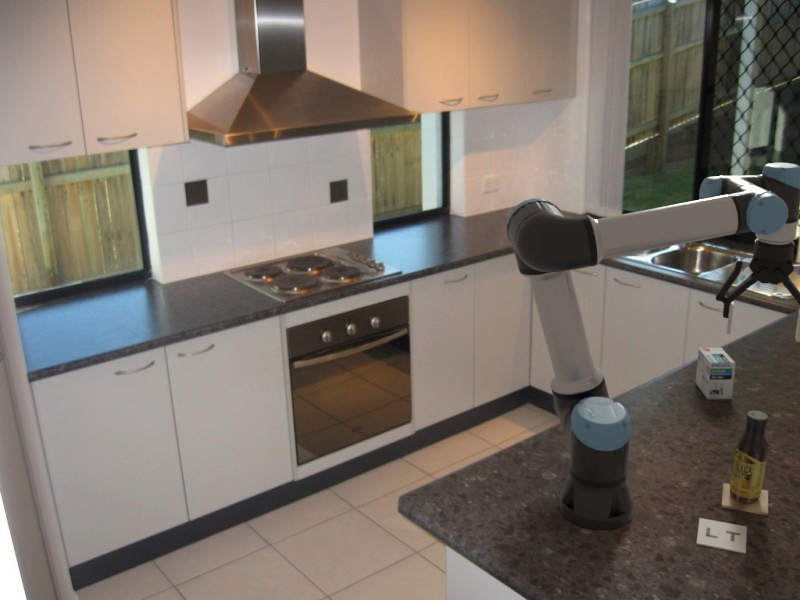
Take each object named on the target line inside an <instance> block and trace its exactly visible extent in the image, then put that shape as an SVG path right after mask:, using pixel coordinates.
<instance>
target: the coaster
mask: <svg viewBox="0 0 800 600" xmlns="http://www.w3.org/2000/svg"><path fill="white" fill-rule="evenodd" d="M721 495H722V496H721V508H724V509H730V510H734V511H741V512H746V513H751V514H757V515H763V516H769V490H768V489H762V490H761V495H760V498H759V499H758V501H757V502H754V503H747V504H746V503H742V502H740V501H737V500H735V499H734V498H732V496H731V495H730V483H726V482H723V484H722V494H721Z"/></svg>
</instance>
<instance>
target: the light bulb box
mask: <svg viewBox="0 0 800 600" xmlns="http://www.w3.org/2000/svg"><path fill="white" fill-rule="evenodd" d="M697 352H698V354H697V362H696V363H697V364H696V375H695V384H696V386H697V387H698V388H699V390H700V391H701V392H702V394H703V395H704V397H705V398H706V399H707V400H732V399H733V391H734V389H733V388H734V380H735V371H736V365H737V364H736V360H734V359H733V358H731V356H730V355H729V354H728V353H727V352H726V350H725V349H724V348H723V347H699V348H698V351H697Z"/></svg>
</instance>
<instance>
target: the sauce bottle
mask: <svg viewBox="0 0 800 600" xmlns="http://www.w3.org/2000/svg"><path fill="white" fill-rule="evenodd" d="M745 419H746V424H745V429H744V432H743V433H742V436H741V437H740V438H739V439H740V440H739V441H738V443H737V445H736V446H735V451H734V458H733V463H732V469H731V474H730V475H731V476H730V481H729V484H730V495H731V496H732V498H734V499H735V500H737V501H740V502H742V503H746V504H747V503H754V502H757V501H758V499H759V498H760V495H761V490H763V489H762V488H763V483H764V478H765V474H766V473H765V471H766V466H767V461H768V452H769V444H768V441H767V439H766V436H765V435H766V429H767V428H766V427H767V424H768V422H769V415H768V414H767V413H765V412H763V411H760V410H749V411H748V412H747V414H746V418H745Z"/></svg>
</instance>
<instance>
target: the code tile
mask: <svg viewBox="0 0 800 600" xmlns="http://www.w3.org/2000/svg"><path fill="white" fill-rule="evenodd" d="M747 528H748V527H747V526H745V525H740V524H734V523H729V522H726V521H725V522H724V521H719V520H713V519H707V518H702V517H699V521H698V528H697V535H696V537H697V538H696V545H698V546H703V547H704V546H705V547H708V548H709V547H710V548H714V549H719V550H725V551H729V552H733V553H740V554H744V555H745V554H747Z"/></svg>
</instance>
